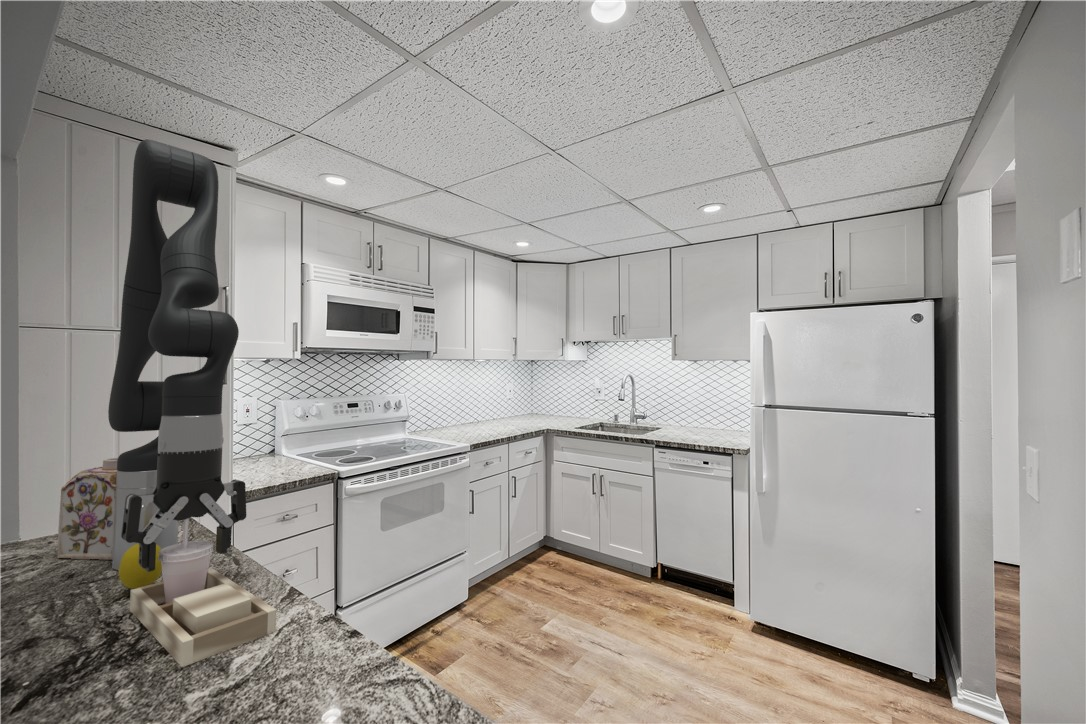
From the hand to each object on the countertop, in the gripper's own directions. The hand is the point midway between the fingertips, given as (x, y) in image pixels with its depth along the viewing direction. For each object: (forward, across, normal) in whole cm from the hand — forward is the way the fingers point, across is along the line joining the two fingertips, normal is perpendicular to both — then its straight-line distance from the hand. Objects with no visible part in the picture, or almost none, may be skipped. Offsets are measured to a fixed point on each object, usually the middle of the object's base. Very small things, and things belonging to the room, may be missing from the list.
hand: (186, 560), depth 68 cm
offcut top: (+5, 0, +10) cm, 11 cm away
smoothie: (+8, 0, 0) cm, 8 cm away
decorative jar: (+8, 0, -43) cm, 44 cm away
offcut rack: (+8, 0, +6) cm, 10 cm away
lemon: (+8, +2, -15) cm, 17 cm away
